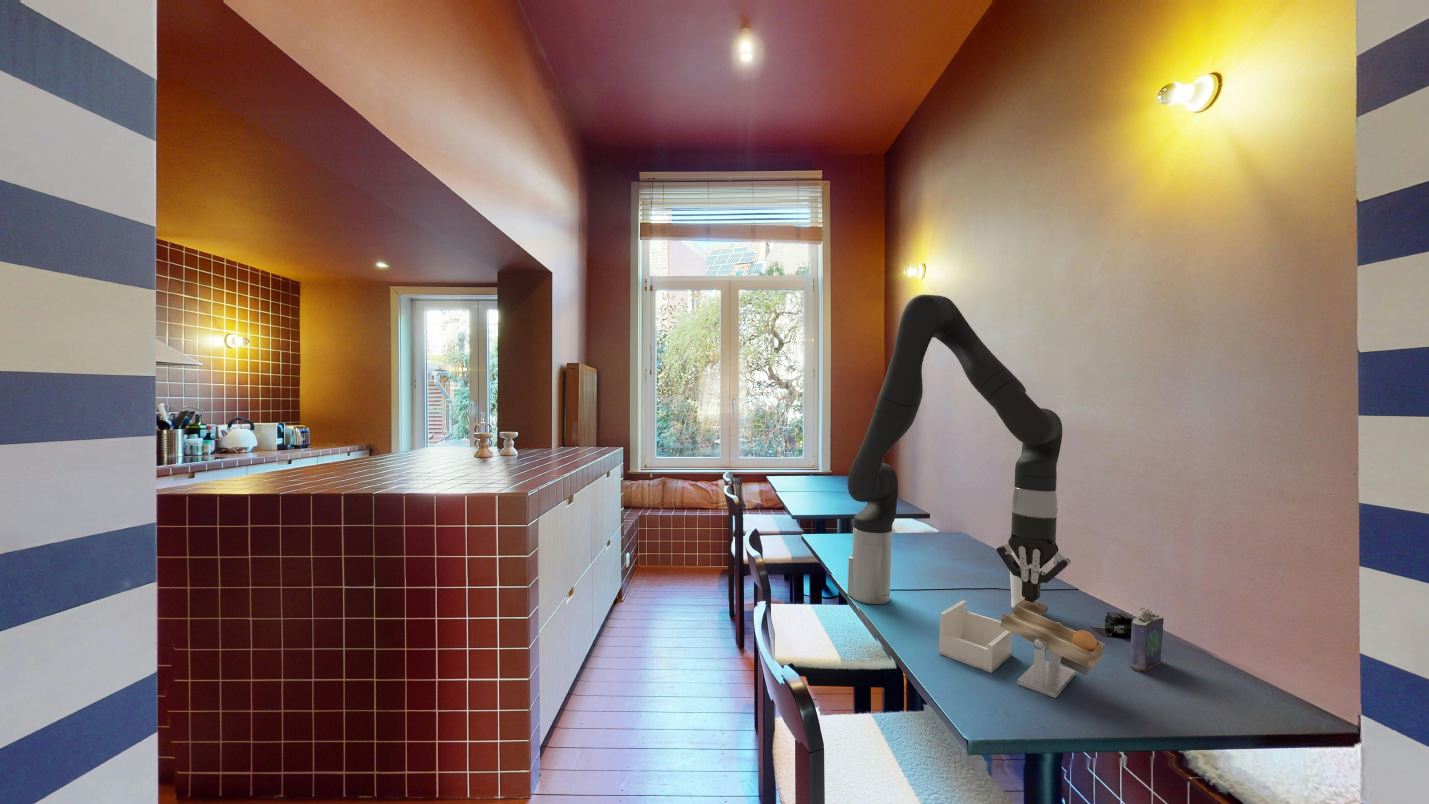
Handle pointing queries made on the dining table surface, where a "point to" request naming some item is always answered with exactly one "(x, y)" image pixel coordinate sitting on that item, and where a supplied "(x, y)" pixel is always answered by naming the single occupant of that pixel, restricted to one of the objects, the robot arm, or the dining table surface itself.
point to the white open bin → (973, 638)
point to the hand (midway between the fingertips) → (1030, 600)
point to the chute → (1051, 635)
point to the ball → (1084, 640)
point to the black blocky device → (1116, 620)
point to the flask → (1146, 641)
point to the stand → (1046, 672)
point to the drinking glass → (1016, 586)
